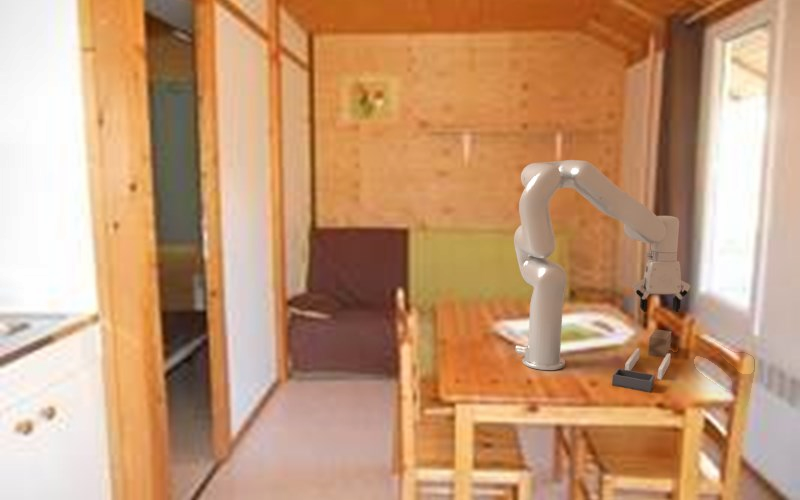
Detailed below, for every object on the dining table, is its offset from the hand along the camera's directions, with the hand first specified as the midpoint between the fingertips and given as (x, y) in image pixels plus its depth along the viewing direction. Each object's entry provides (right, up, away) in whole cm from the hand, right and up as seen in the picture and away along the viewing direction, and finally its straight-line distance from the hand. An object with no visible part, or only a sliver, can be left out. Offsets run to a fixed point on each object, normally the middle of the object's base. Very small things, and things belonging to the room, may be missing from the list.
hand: (659, 310), depth 203 cm
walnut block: (+3, -14, +7) cm, 16 cm away
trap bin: (-16, -19, -21) cm, 32 cm away
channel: (-7, -16, -8) cm, 19 cm away
